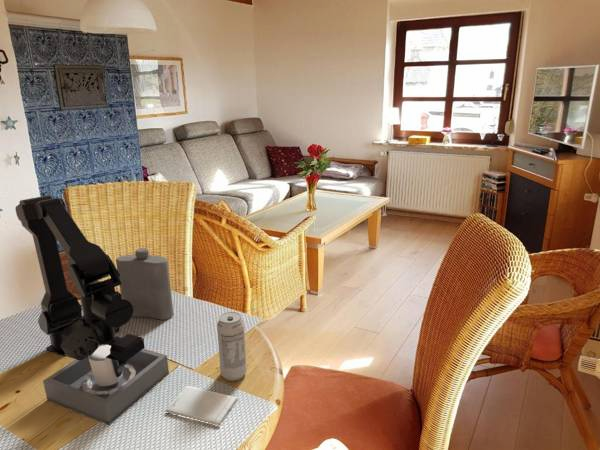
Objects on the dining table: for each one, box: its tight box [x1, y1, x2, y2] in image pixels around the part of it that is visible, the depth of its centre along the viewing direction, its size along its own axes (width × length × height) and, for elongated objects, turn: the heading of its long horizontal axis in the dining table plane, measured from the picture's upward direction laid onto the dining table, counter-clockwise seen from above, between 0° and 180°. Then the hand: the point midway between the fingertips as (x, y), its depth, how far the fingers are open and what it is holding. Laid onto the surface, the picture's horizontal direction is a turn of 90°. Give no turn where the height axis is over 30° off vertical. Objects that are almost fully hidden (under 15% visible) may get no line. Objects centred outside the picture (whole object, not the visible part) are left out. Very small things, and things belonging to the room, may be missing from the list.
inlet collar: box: [81, 364, 136, 399], centre depth 102 cm, size 11×11×2 cm
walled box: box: [42, 348, 170, 426], centre depth 102 cm, size 18×18×5 cm
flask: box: [115, 247, 174, 321], centre depth 131 cm, size 15×6×20 cm, turn 80°
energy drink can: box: [216, 311, 248, 382], centre depth 104 cm, size 6×6×15 cm
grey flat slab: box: [165, 385, 239, 427], centre depth 96 cm, size 2×8×12 cm
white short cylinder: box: [88, 345, 123, 386], centre depth 101 cm, size 7×7×7 cm
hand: (108, 372), depth 102 cm, fingers closed on white short cylinder, 6 cm apart
